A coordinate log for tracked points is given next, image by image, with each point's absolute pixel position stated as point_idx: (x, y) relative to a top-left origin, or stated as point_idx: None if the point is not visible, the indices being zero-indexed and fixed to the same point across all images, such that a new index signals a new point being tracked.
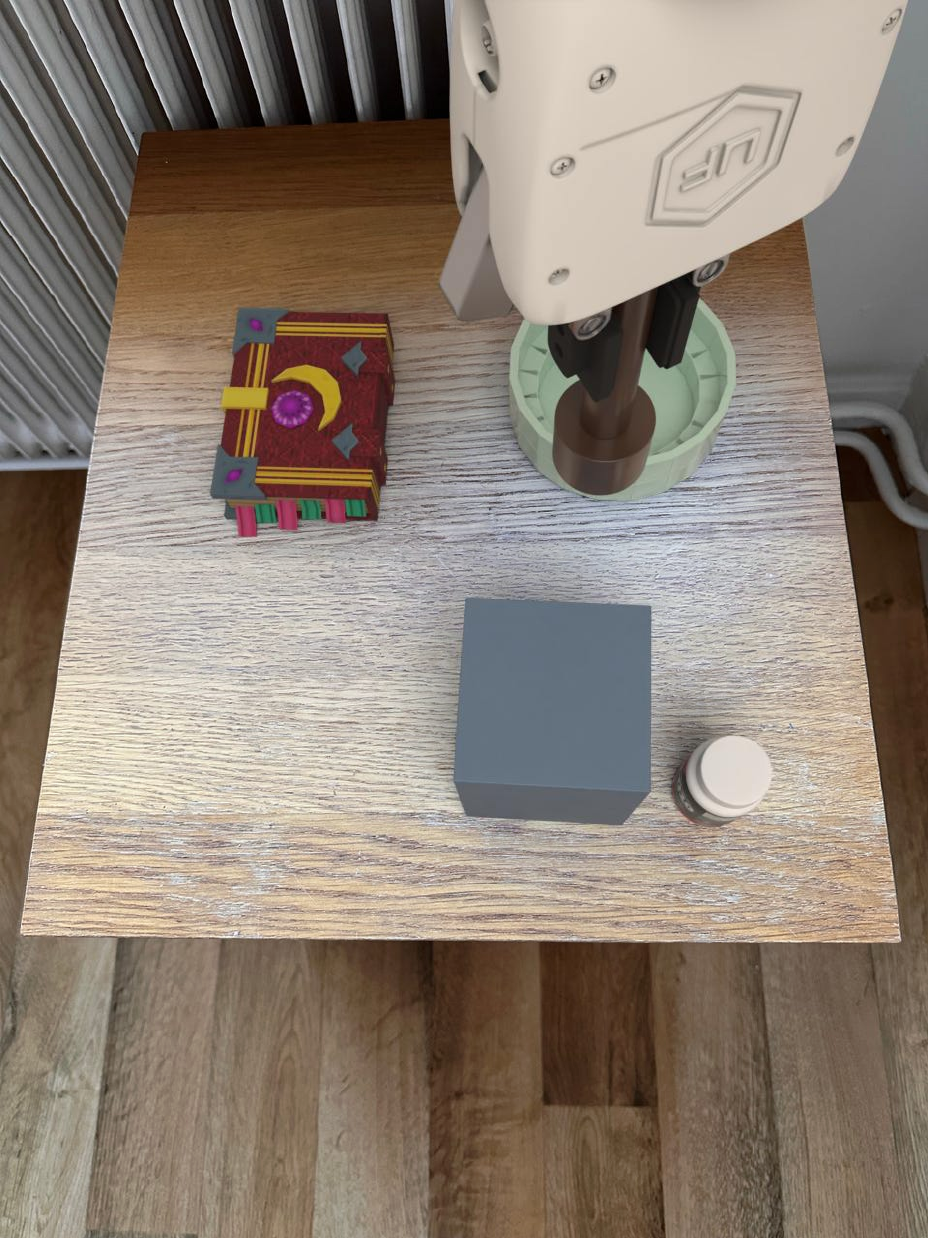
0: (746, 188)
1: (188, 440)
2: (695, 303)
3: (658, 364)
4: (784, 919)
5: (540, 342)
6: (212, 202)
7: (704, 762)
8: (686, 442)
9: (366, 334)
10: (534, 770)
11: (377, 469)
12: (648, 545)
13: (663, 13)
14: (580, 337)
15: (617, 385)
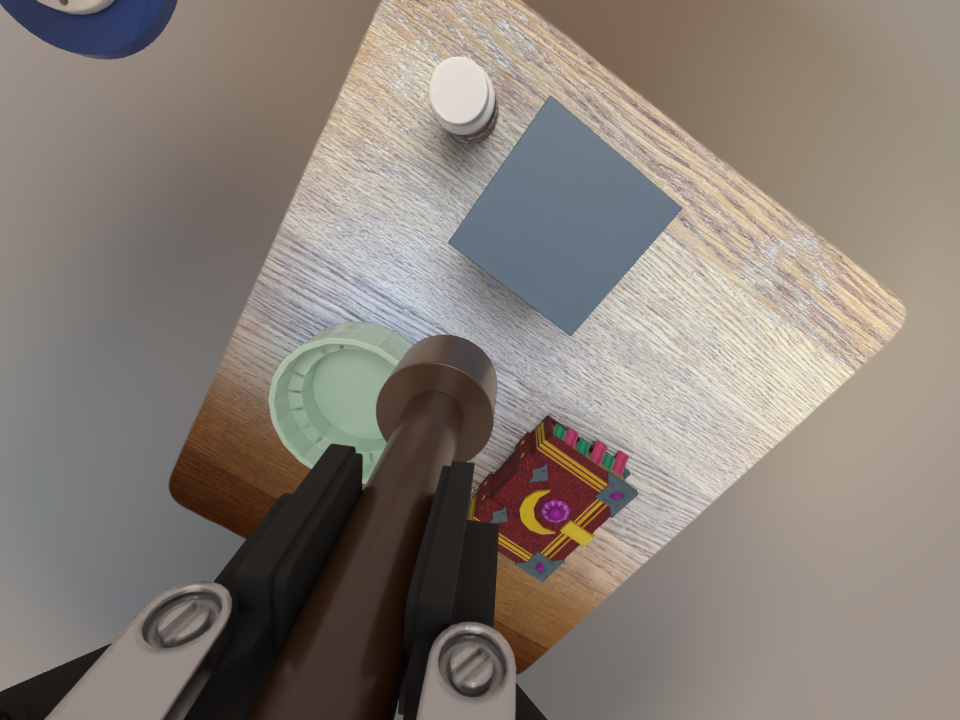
0: None
1: (614, 524)
2: (253, 556)
3: (361, 459)
4: None
5: None
6: (507, 633)
7: (476, 112)
8: (339, 343)
9: None
10: (620, 175)
11: (530, 445)
12: (400, 296)
13: None
14: (502, 645)
15: (424, 460)
